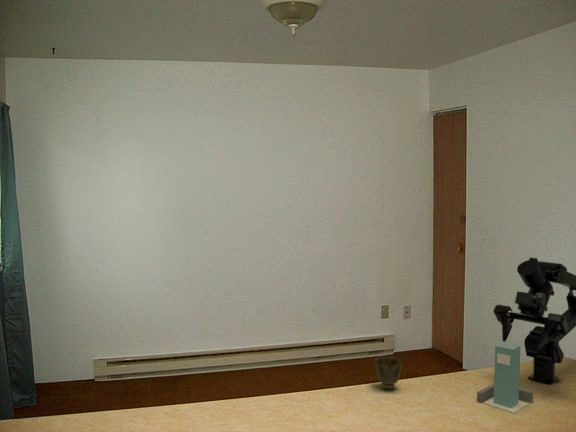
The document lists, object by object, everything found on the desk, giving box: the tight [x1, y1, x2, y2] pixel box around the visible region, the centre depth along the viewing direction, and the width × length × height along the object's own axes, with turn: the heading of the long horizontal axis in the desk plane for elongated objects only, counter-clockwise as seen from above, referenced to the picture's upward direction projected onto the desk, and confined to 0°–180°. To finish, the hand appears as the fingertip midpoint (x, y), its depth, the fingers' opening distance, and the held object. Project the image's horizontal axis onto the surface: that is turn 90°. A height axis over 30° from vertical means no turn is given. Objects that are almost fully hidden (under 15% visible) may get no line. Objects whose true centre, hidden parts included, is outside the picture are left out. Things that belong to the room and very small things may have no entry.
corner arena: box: [476, 383, 534, 414], centre depth 140 cm, size 11×10×2 cm
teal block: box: [493, 341, 521, 408], centre depth 138 cm, size 5×5×15 cm
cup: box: [374, 355, 403, 391], centre depth 148 cm, size 8×7×8 cm
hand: (520, 344), depth 145 cm, fingers open, 9 cm apart
